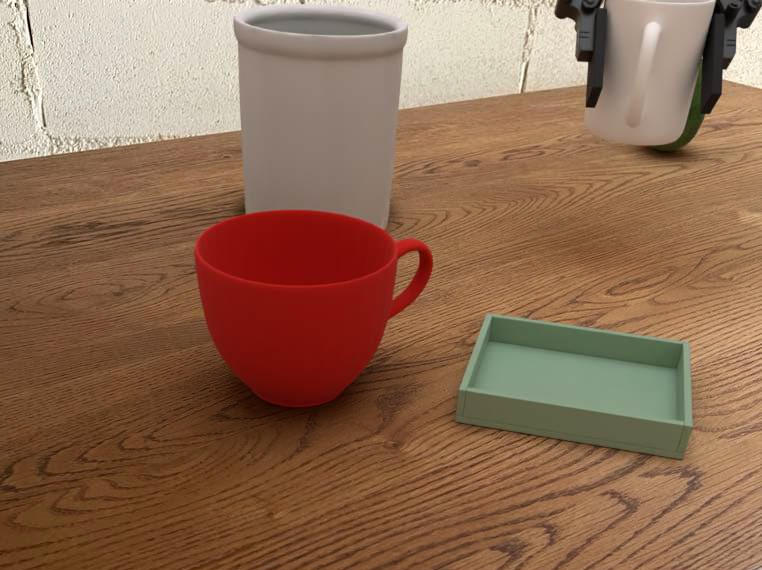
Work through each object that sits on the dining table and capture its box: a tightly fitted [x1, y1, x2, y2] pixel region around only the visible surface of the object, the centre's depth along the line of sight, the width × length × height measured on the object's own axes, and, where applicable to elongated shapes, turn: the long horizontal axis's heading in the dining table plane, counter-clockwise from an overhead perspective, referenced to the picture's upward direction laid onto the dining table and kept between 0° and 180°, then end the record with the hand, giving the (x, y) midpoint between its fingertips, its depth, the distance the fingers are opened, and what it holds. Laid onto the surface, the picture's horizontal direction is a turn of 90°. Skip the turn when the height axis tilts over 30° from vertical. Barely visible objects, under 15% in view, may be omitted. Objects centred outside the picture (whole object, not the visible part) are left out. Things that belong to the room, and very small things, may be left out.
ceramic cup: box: [193, 210, 434, 408], centre depth 63 cm, size 13×17×10 cm
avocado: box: [647, 60, 706, 152], centre depth 108 cm, size 8×8×12 cm
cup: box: [583, 0, 716, 146], centre depth 73 cm, size 8×12×10 cm
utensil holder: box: [232, 3, 409, 231], centre depth 84 cm, size 15×15×18 cm
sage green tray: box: [454, 312, 694, 460], centre depth 64 cm, size 15×12×2 cm
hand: (652, 100), depth 72 cm, fingers closed on cup, 8 cm apart
